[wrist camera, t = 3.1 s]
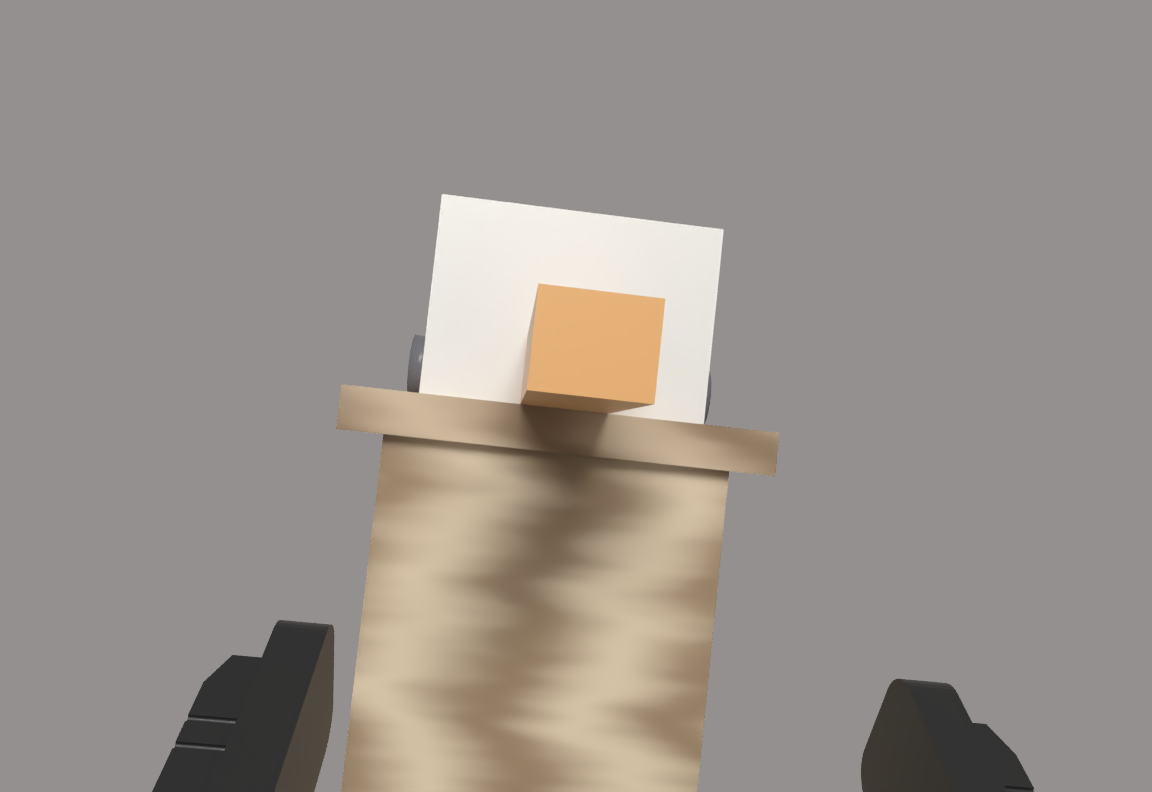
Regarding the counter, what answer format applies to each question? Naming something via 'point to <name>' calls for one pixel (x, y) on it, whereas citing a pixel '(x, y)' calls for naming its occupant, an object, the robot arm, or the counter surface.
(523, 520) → the dock pedestal
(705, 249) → the white box with knobs
